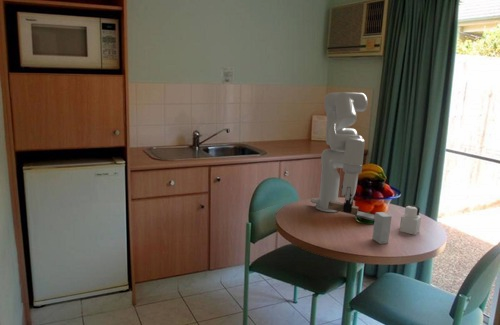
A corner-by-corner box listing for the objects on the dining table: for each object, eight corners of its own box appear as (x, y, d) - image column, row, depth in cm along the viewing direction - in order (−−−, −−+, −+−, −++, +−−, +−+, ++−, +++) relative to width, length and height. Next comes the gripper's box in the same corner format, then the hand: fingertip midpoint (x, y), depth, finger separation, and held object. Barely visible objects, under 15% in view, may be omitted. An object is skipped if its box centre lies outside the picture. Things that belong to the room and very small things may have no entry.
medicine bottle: (403, 227, 199) (406, 202, 197) (419, 231, 195) (423, 206, 193) (399, 231, 194) (402, 206, 191) (415, 235, 190) (418, 209, 187)
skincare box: (388, 243, 178) (392, 216, 176) (379, 244, 177) (383, 216, 175) (380, 238, 184) (383, 211, 182) (371, 238, 183) (374, 212, 180)
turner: (327, 209, 177) (328, 202, 176) (329, 205, 181) (330, 199, 180) (373, 220, 171) (375, 213, 170) (374, 216, 176) (376, 210, 175)
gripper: (345, 163, 181) (341, 204, 185) (340, 171, 166) (335, 215, 170) (363, 165, 178) (358, 206, 183) (359, 173, 164) (354, 218, 168)
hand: (347, 210), depth 176 cm, fingers closed on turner, 2 cm apart
